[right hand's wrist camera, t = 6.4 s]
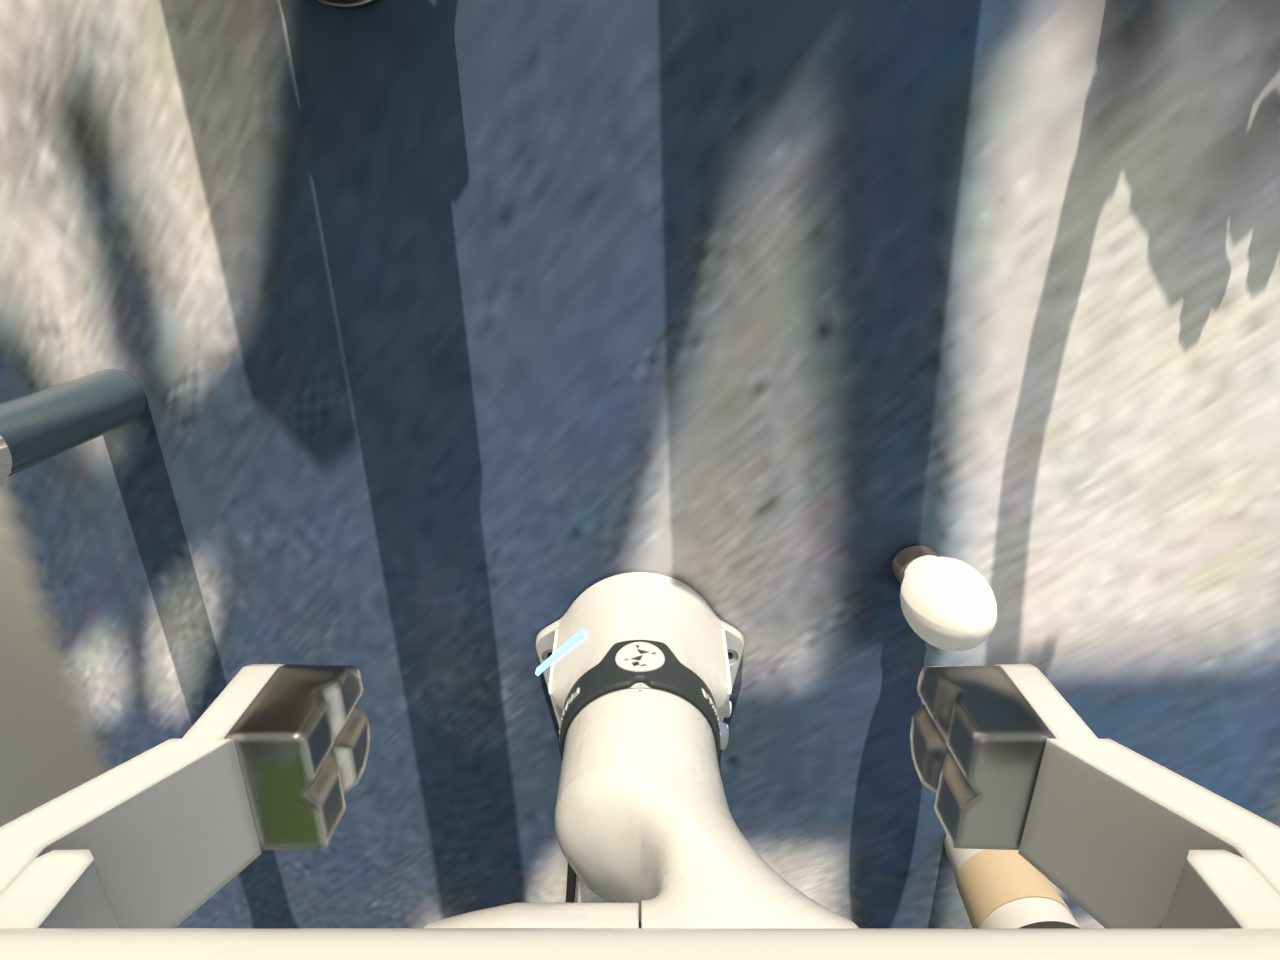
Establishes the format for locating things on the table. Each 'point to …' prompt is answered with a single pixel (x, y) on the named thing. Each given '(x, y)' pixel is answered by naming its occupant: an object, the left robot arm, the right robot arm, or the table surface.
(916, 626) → the light bulb
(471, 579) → the table surface
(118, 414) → the dark grey cylinder
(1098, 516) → the table surface
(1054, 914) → the coffee cup
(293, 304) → the table surface
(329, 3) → the left robot arm
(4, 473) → the lid
